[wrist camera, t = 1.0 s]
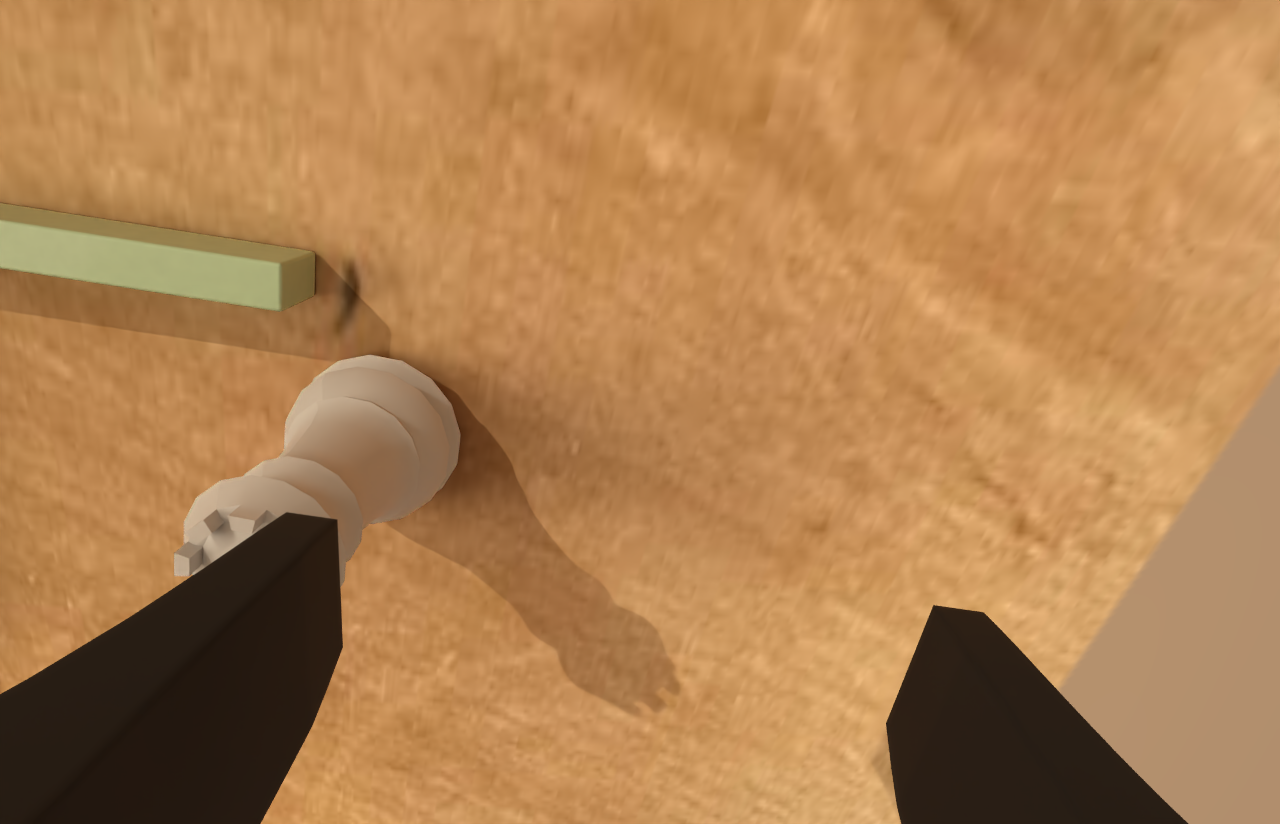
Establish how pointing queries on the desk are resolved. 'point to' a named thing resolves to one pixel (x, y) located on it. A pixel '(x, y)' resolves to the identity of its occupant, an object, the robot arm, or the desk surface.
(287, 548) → the robot arm
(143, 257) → the corner guide
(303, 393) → the rook chess piece
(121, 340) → the desk surface
